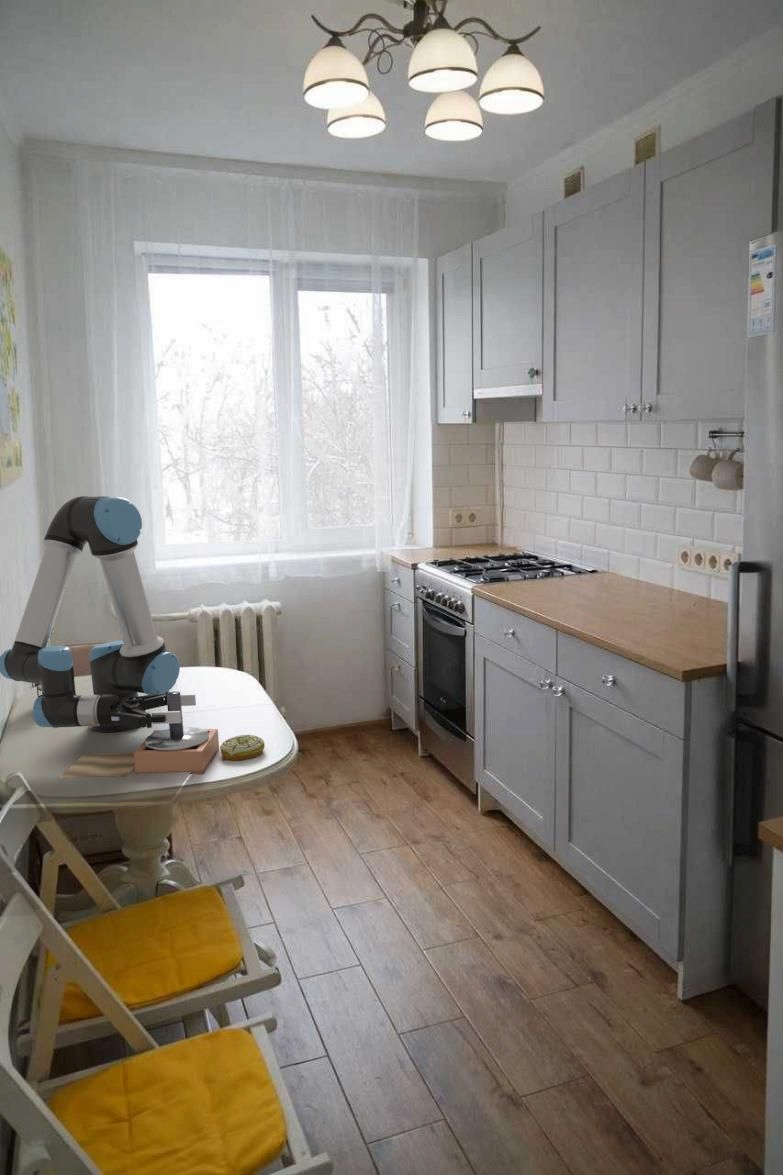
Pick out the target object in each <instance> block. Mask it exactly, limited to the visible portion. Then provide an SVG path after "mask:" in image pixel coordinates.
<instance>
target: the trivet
mask: <svg viewBox="0 0 783 1175" xmlns="http://www.w3.org/2000/svg"><path fill="white" fill-rule="evenodd" d="M134 752H135V751H133V752H130V751H129V752H99V753H98V752H95V753H90V752H89V753H83V754H82V755H81V756H80V757H79V758H78V759H77V760H76V761H74V763H73V764H72V765H71V766H70V767H68V768H67V769H66V770H65V772H63V773H62V774H61V775H60V776H58V779H72V778H73V779H76V778H77V779H79V778H81V779H83V778H119V777H121V778H123V777H128V776H129V775H130V773H131V772H132V771H133V770H134V769H135V760H134Z"/></svg>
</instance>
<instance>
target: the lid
mask: <svg viewBox="0 0 783 1175" xmlns="http://www.w3.org/2000/svg"><path fill="white" fill-rule="evenodd" d="M180 695H181V691H177V690H176V691H169V692H168V693H167V705H166V706H167V711H180V713H181V723H168V729H167V728H166V729H163V730H162V729H161V730H162V731H159V732H156V733H153V732H152V733H153V734H152V733H151V734H150V735H148V736H147V737H146V738H145V739H144V741H145V746H146V747H147V748H149V749H151V750H155V751H179V750H185V749H190V748H194V747H197V746H199V745H201V744H203V743H205V742H206V741H207V740H208V739H209V733H208V732H207V731H206V730H204V729H205V728H200V727H193V726H191V727H190V726H184V725H183V722H184V721H183V713H182V712H183V710H182V706H181V696H180Z"/></svg>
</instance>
